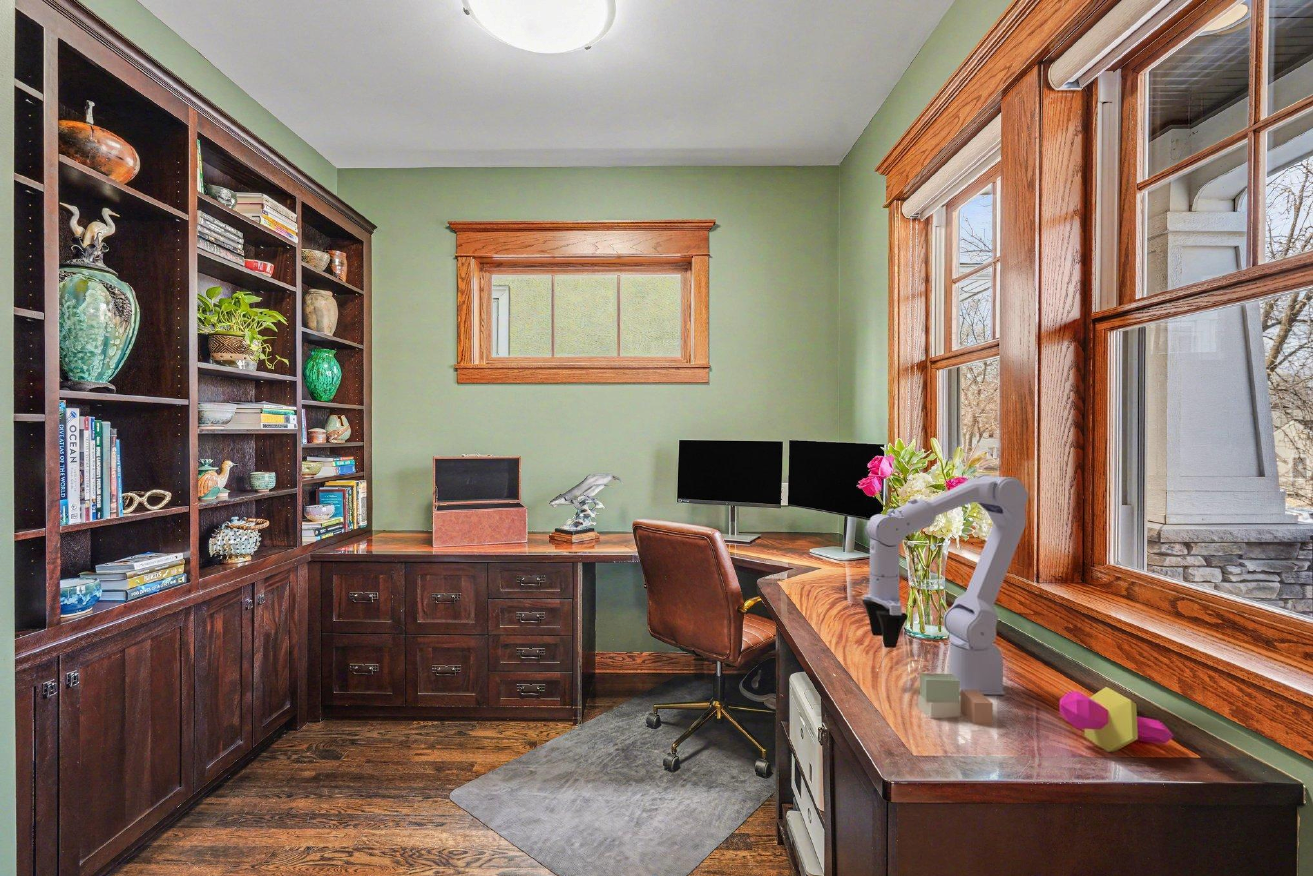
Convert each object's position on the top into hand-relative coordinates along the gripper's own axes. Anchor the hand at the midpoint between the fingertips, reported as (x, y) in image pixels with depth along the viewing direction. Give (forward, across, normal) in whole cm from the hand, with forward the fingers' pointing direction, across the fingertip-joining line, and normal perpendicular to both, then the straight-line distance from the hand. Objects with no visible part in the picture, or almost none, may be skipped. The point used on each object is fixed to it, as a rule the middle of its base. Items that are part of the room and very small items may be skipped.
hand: (883, 641), depth 130 cm
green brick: (+7, +11, +7) cm, 15 cm away
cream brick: (+10, +10, +7) cm, 16 cm away
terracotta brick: (+10, +12, +13) cm, 20 cm away
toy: (+10, +22, +31) cm, 39 cm away
